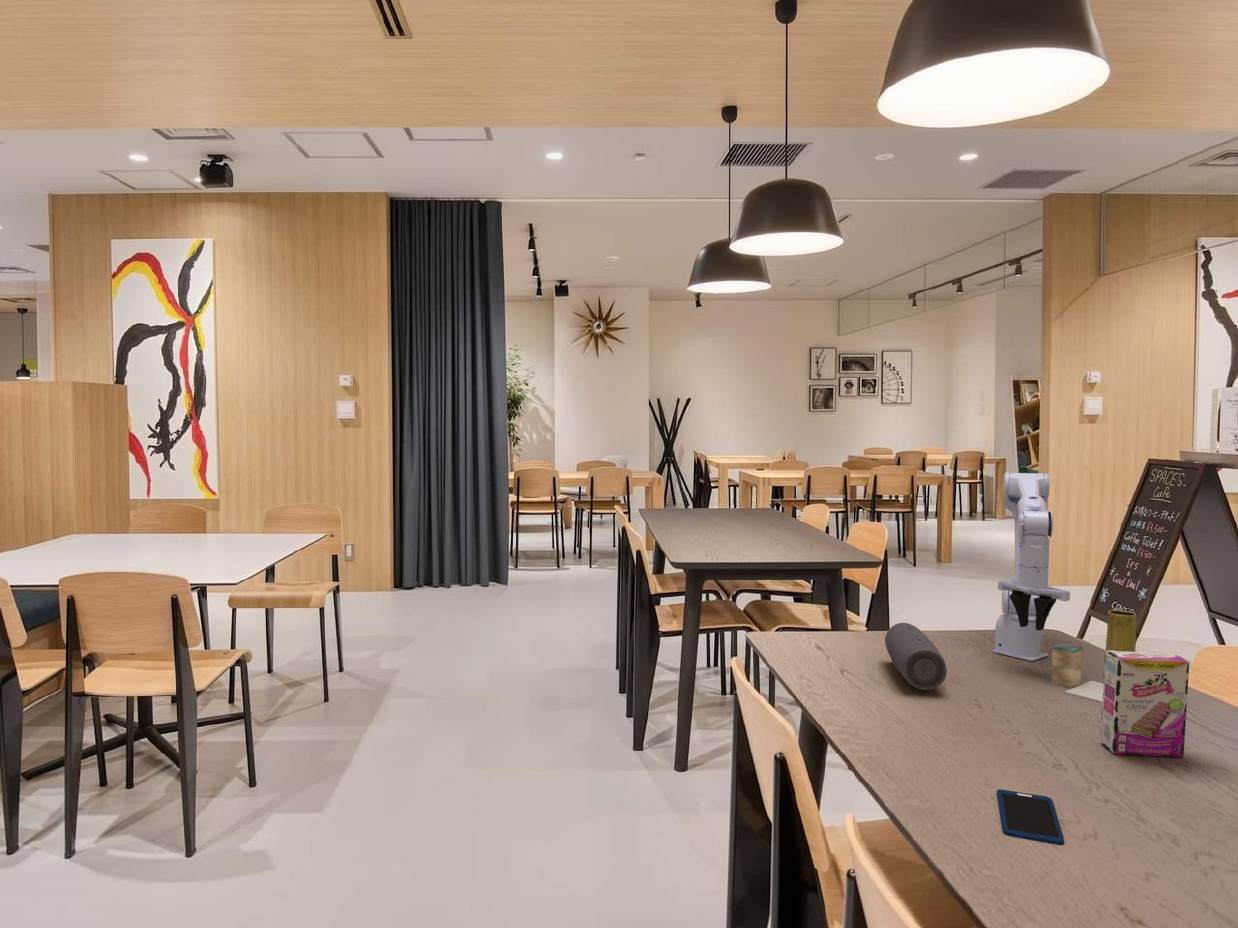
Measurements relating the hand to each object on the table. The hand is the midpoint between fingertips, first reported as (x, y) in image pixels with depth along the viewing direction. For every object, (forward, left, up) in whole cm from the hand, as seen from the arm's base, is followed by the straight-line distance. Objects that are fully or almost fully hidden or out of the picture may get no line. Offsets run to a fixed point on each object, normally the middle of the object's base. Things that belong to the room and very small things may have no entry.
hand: (1031, 627), depth 174 cm
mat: (+15, 0, -10) cm, 18 cm away
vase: (+12, +14, -11) cm, 21 cm away
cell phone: (+32, -64, -11) cm, 72 cm away
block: (+8, 0, -10) cm, 13 cm away
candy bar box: (+32, -26, -11) cm, 42 cm away
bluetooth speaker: (-13, -23, -11) cm, 29 cm away
